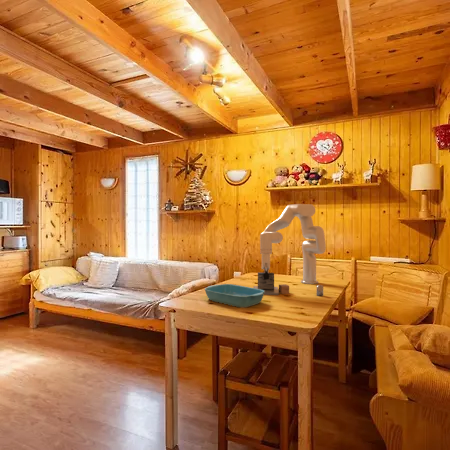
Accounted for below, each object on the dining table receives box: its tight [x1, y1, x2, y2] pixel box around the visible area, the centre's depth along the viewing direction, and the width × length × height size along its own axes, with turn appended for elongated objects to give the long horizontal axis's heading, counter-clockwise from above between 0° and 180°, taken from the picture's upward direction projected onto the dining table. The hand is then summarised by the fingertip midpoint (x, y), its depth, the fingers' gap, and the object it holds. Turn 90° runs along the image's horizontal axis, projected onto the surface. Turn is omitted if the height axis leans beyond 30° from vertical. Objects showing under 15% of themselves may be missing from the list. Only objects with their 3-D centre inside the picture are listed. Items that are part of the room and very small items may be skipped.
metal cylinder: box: [316, 284, 324, 297], centre depth 192 cm, size 4×4×6 cm
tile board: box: [252, 285, 280, 296], centre depth 202 cm, size 18×16×2 cm
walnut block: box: [278, 283, 290, 295], centre depth 198 cm, size 5×5×5 cm
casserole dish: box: [204, 283, 265, 308], centre depth 177 cm, size 37×22×7 cm, turn 47°
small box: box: [257, 272, 275, 290], centre depth 202 cm, size 11×6×10 cm, turn 84°
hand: (266, 277), depth 202 cm, fingers open, 9 cm apart
